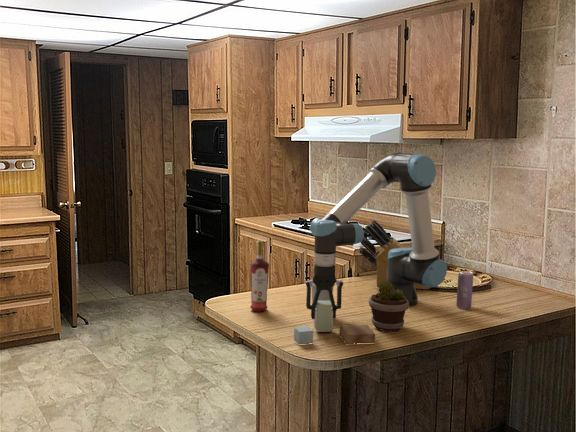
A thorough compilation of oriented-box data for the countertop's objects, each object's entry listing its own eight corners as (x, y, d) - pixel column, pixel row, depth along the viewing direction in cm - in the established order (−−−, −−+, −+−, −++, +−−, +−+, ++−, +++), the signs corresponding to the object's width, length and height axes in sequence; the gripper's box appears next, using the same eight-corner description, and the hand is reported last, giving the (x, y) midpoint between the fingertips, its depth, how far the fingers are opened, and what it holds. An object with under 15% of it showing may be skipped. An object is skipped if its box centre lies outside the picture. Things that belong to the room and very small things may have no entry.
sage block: (329, 327, 230) (329, 300, 228) (330, 331, 225) (331, 304, 223) (315, 327, 230) (315, 300, 228) (317, 331, 225) (317, 304, 223)
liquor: (250, 313, 247) (251, 242, 243) (248, 307, 254) (249, 239, 250) (269, 312, 248) (270, 242, 244) (266, 307, 255) (268, 239, 251)
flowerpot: (380, 318, 245) (382, 268, 242) (415, 327, 235) (418, 275, 232) (359, 327, 233) (361, 274, 230) (395, 337, 224) (398, 282, 221)
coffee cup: (316, 321, 239) (318, 283, 237) (304, 314, 247) (305, 277, 245) (338, 318, 243) (339, 280, 241) (325, 311, 252) (326, 274, 249)
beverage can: (472, 306, 263) (474, 271, 261) (469, 310, 258) (472, 274, 256) (457, 304, 266) (459, 270, 264) (454, 308, 260) (457, 273, 258)
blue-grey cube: (307, 339, 219) (307, 325, 218) (312, 344, 214) (313, 330, 214) (293, 341, 217) (294, 327, 217) (299, 346, 213) (299, 331, 212)
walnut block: (366, 335, 226) (366, 324, 225) (374, 345, 216) (375, 333, 216) (339, 336, 224) (339, 325, 224) (346, 346, 215) (346, 334, 214)
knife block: (356, 280, 302) (359, 216, 298) (431, 284, 298) (435, 220, 293) (355, 286, 291) (358, 220, 287) (433, 291, 287) (437, 223, 282)
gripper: (300, 266, 219) (299, 331, 223) (351, 266, 221) (349, 330, 224) (298, 261, 227) (297, 324, 230) (348, 261, 228) (346, 323, 232)
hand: (323, 327), depth 227 cm, fingers closed on sage block, 5 cm apart
